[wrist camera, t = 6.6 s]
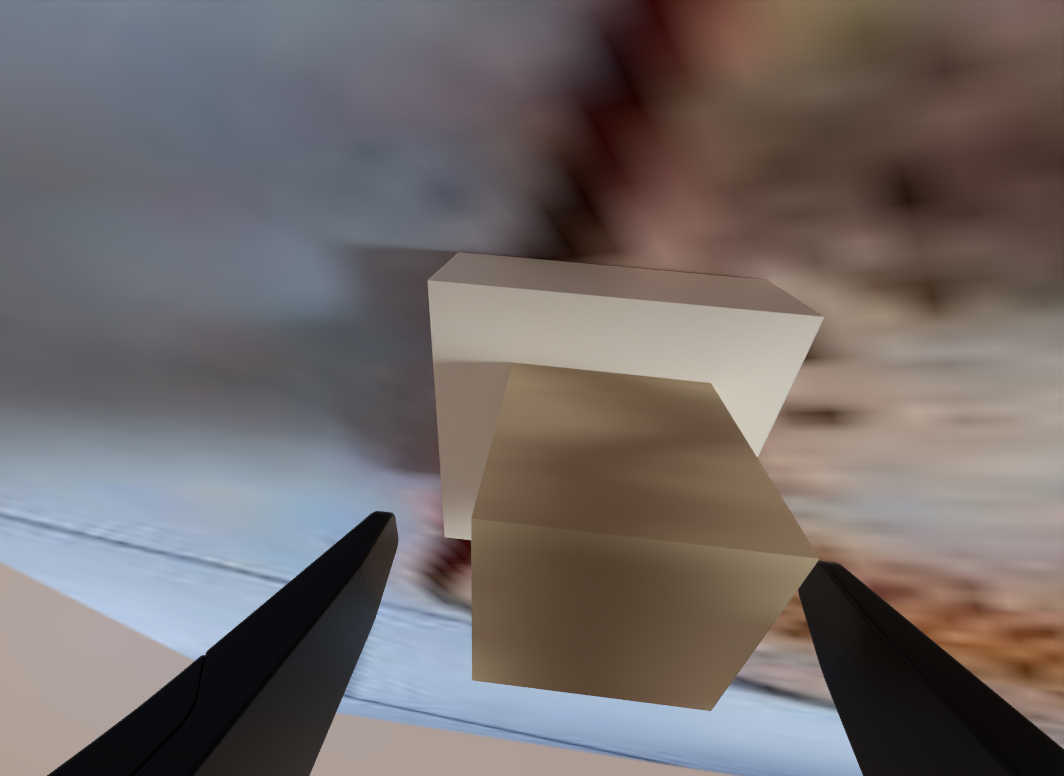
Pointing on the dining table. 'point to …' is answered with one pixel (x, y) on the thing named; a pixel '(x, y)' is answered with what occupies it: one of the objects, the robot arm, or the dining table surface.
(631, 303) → the ceramic trivet
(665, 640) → the maple cube
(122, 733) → the robot arm
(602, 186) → the dining table surface
